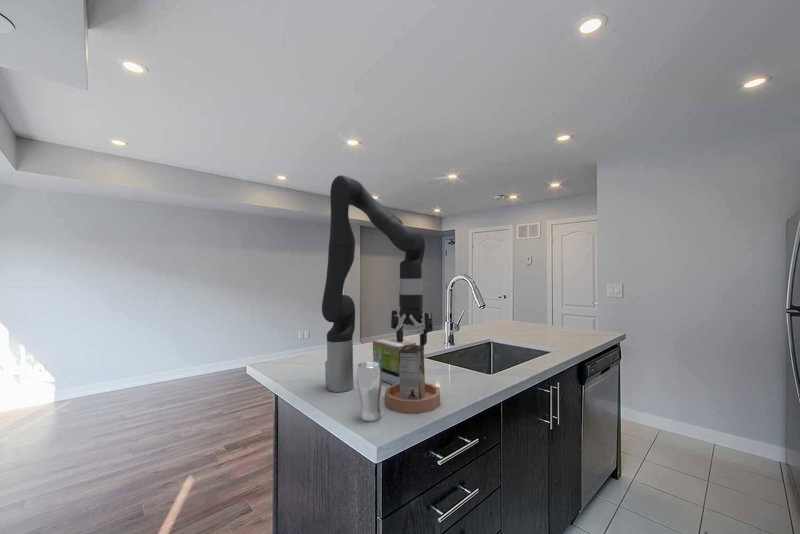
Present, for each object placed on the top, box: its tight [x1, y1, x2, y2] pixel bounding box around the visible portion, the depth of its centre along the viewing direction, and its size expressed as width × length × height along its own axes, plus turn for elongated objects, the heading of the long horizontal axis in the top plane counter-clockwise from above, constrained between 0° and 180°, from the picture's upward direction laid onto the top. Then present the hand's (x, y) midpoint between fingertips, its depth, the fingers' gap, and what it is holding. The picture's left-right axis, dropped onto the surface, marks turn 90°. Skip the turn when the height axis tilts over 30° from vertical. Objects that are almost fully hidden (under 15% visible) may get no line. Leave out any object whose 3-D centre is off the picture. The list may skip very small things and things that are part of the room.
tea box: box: [372, 336, 417, 385], centre depth 128 cm, size 15×10×15 cm, turn 42°
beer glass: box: [356, 360, 383, 423], centre depth 95 cm, size 7×7×15 cm
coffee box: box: [399, 344, 426, 400], centre depth 105 cm, size 9×6×16 cm
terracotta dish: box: [384, 382, 441, 414], centre depth 105 cm, size 17×17×4 cm
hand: (411, 343), depth 106 cm, fingers open, 8 cm apart
